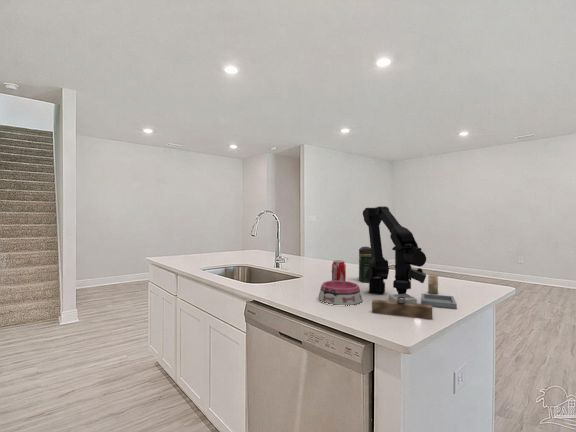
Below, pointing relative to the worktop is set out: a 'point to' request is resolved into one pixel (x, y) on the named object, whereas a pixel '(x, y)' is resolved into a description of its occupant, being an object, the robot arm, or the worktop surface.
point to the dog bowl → (340, 293)
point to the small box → (407, 298)
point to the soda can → (338, 271)
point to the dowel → (432, 284)
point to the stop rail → (402, 308)
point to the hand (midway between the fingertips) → (402, 301)
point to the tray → (439, 301)
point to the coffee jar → (364, 262)
